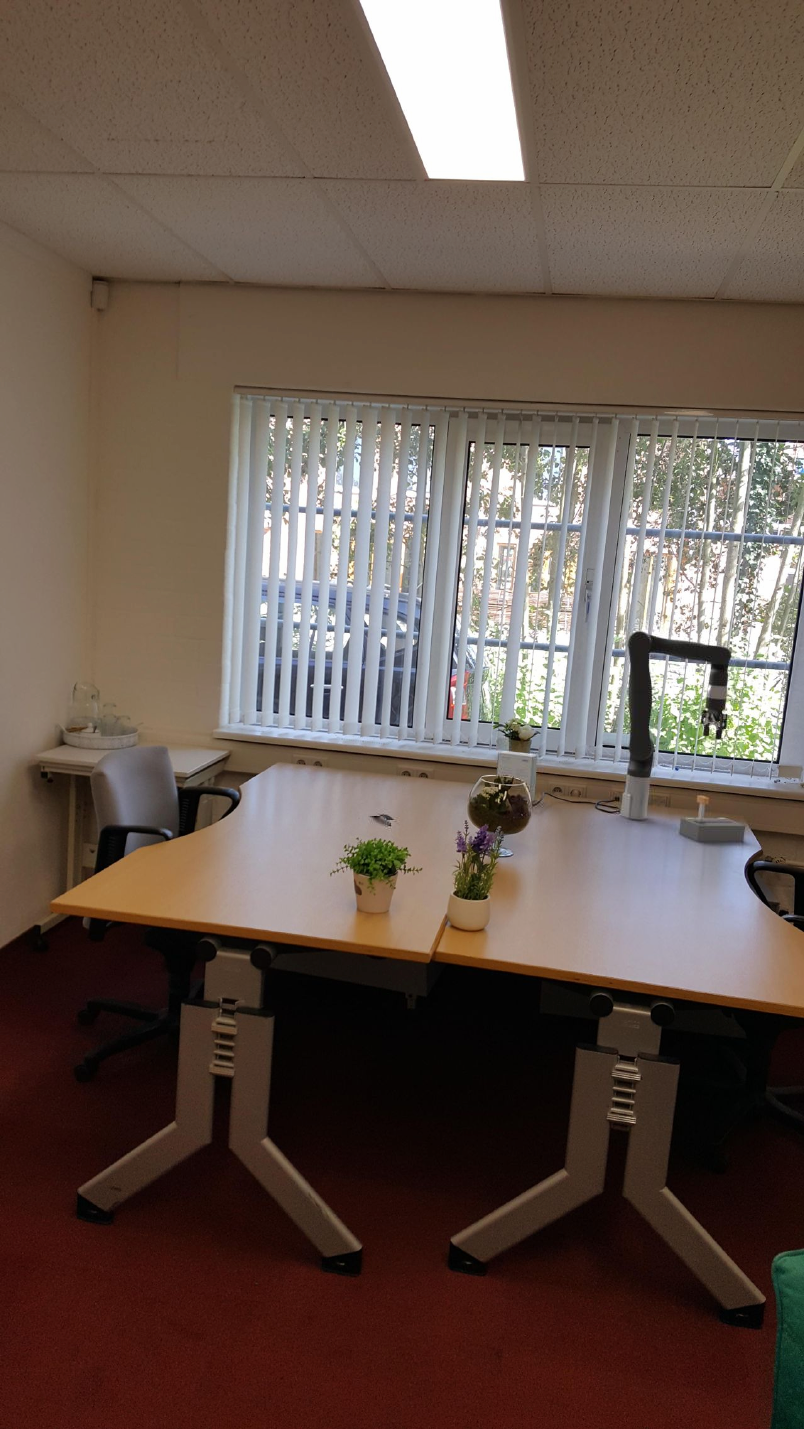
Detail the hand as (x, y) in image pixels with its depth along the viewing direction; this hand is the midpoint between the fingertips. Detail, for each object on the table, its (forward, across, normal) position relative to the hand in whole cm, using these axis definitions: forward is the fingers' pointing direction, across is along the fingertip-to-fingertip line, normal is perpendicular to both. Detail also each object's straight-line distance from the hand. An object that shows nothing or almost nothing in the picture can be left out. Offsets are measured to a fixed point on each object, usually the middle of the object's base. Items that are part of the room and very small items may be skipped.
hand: (711, 737), depth 381 cm
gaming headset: (+36, +2, +130) cm, 135 cm away
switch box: (+35, -18, +8) cm, 40 cm away
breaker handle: (+29, -18, +13) cm, 37 cm away
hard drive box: (+36, +42, +64) cm, 84 cm away
